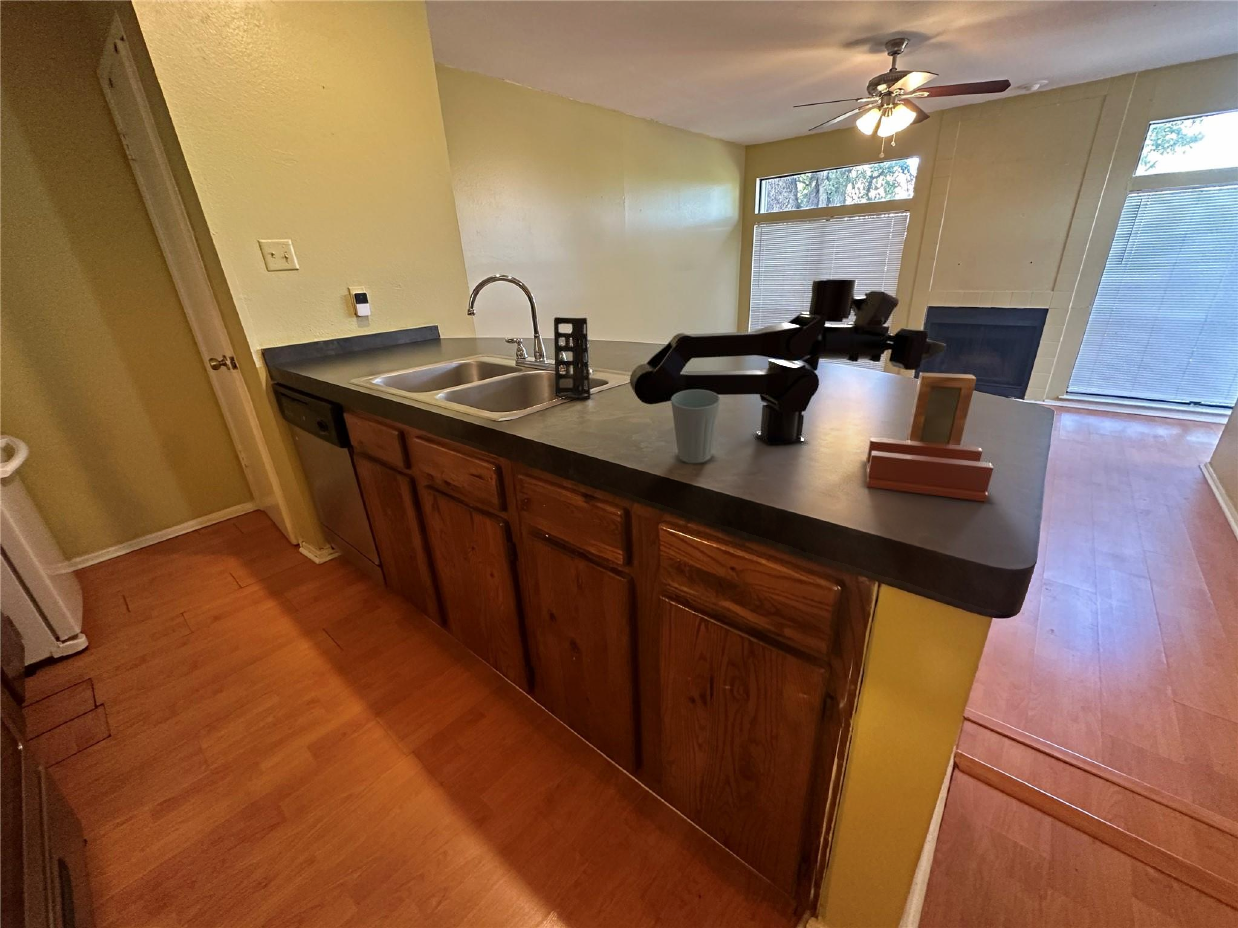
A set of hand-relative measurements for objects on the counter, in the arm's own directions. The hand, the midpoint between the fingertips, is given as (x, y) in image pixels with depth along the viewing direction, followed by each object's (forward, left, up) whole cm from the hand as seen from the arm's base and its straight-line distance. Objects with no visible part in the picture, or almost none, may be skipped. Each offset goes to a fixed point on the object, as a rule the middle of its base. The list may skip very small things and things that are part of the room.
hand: (925, 344), depth 85 cm
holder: (-60, +46, -16) cm, 78 cm away
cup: (-43, -4, -16) cm, 46 cm away
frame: (-5, -12, -16) cm, 21 cm away
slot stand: (-14, -21, -16) cm, 30 cm away
